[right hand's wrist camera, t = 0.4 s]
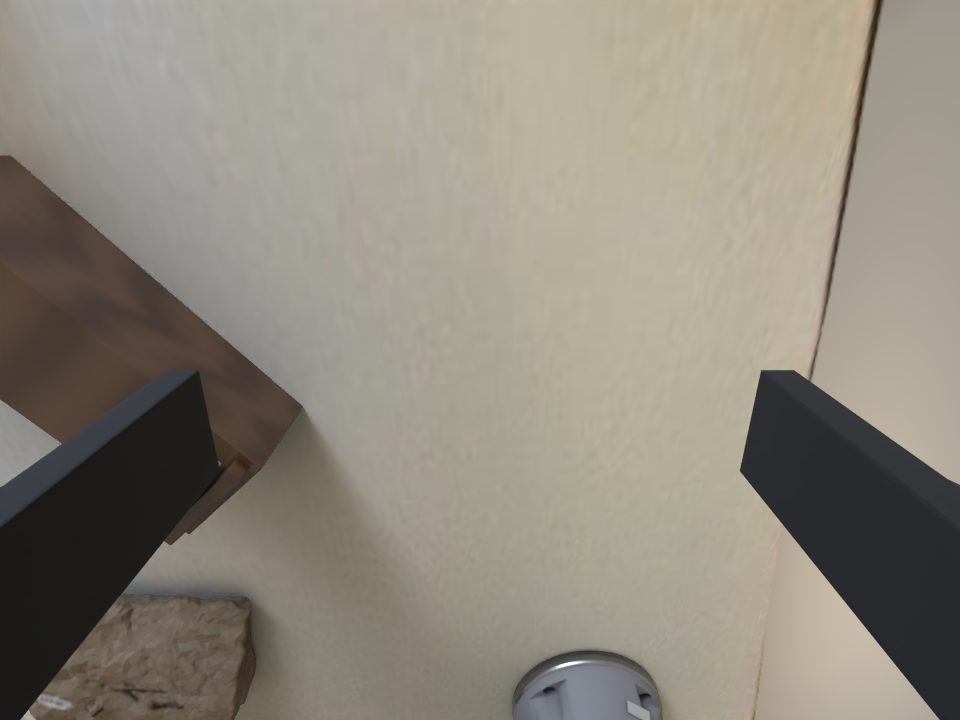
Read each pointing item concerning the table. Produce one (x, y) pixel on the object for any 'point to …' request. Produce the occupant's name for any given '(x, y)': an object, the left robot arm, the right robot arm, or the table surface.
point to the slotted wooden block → (115, 339)
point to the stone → (157, 663)
